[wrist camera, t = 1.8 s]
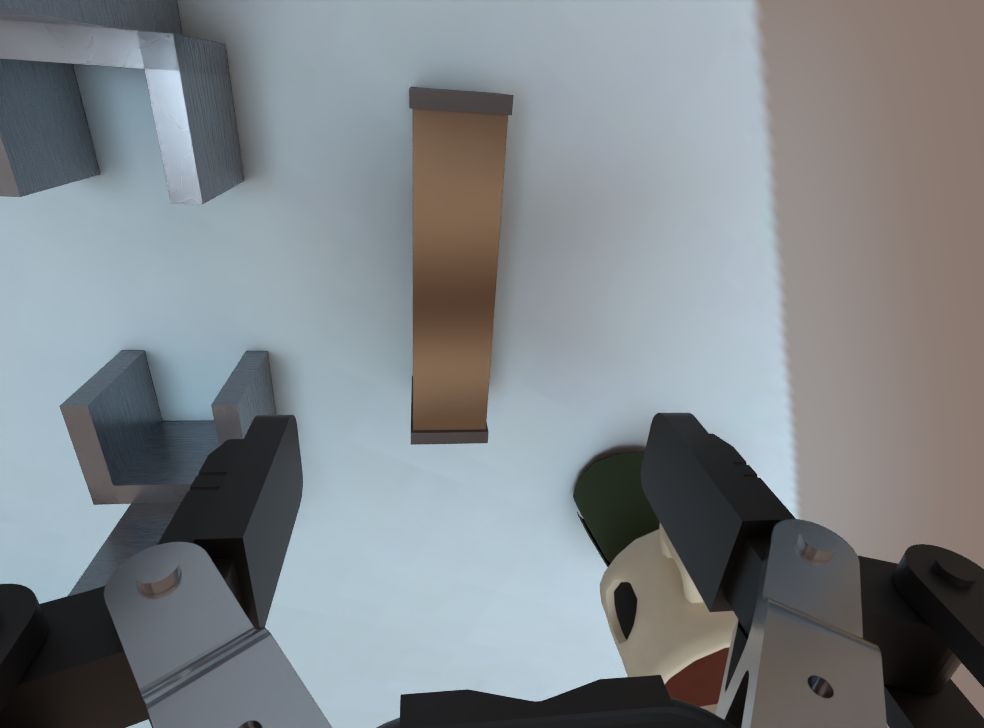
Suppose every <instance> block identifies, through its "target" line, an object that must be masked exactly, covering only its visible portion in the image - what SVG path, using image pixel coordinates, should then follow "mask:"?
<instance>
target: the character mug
mask: <svg viewBox="0 0 984 728" xmlns="http://www.w3.org/2000/svg"><path fill="white" fill-rule="evenodd" d="M644 453H645V452H633V453H623V454H617V455H614V456H611V457H608V458H605V459H602V460H599V461H596V462H595V463H594V464H593V465H592V466H591V467H590V468H589V469H588V470H587V471H586V472H585V473H584V474H583V475H582V476H581V477H580V478H579V481H578V483H577V486H576V489H575V492H574V494H573V497H574V500H575V502H576V504H577V506H578V508H579V510H580V512H581V514H582V516H583V518H584V519H583V518H581V517H580V516H579V514H578V516H579V518H580V520H581V522H582V524H583V526H584V528H585V530H586V532H587V533H588V535H589V537H590V539H591V540H592V542H593V544H594V545H595V547H596V549H597V550H598V552H599V554H600V555H601V557H602V559H603V560H604V562H605V563H606V565H607V567H608V568H607V570H606V571H605V572H604V575H603V578H602V580H601V583H600V595H601V602H602V605H603V608H604V611H605V613H606V617H607V620H608V623H609V627H610V630H611V633H612V636H613V638H614V641H615V644H616V646H617V649H618V651H619V654H620V656H621V658H622V661H623V664H624V667H625V670H626V673H627V675H628V677H638V676H651V675H661V677H662V679H663V682H664V684H665V686H666V689H667V691H668V694H669V696H670V697H671V698H676V699H679V700H682V701H685V702H689V703H692V704H694V705H696V706H699V707H701V708H703V709H706V710H708V711H710V712H711V713H713V714H715V713H716V710H717V706H718V701H719V696H720V692H721V687H722V682H723V677H724V672H725V668H726V663H727V658H728V653H729V648H730V643H731V639H732V634H733V630H734V627H735V625H736V622H737V620H738V618H737V617H736V615H735V613H734V612H733V611H722V612H709V610H708V608H707V606H706V605H705V603H704V601H703V599H702V597H701V596H700V594H699V592H698V590H697V588H696V586H695V585H694V583H693V581H692V579H691V577H690V576H689V574H688V572H687V570H686V568H685V567H684V565H683V563H682V561H681V559H680V557H679V556H678V554H677V552H676V550H675V548H674V547H673V545H672V543H671V541H670V539H669V538H668V536H667V534H666V532H665V530H664V529H663V527H662V525H661V523H660V521H659V519H658V518H657V516H656V514H655V512H654V510H653V509H652V507H651V505H650V503H649V501H648V500H647V498H646V496H645V494H644V491H643V488H642V484H641V466H642V462H643V458H644ZM577 513H578V512H577Z"/></svg>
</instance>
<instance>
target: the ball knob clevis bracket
mask: <svg viewBox="0 0 984 728" xmlns="http://www.w3.org/2000/svg"><path fill="white" fill-rule="evenodd" d="M72 64H85V65H99V66H113V67H127V68H141V69H144V70H145V75H146V80H147V85H148V90H149V95H150V100H151V105H152V110H153V115H154V120H155V125H156V130H157V135H158V140H159V145H160V150H161V155H162V160H163V165H164V170H165V175H166V180H167V185H168V190H169V195H170V200H171V203H183V204H204V203H206V202H207V201H209V200H211V199H213V198H215V197H216V196H218V195H220V194H222V193H224V192H225V191H227V190H229V189H231V188H233V187H234V186H236V185H238V184H240V183H242V182H243V181H244V176H243V169H242V162H241V154H240V147H239V140H238V132H237V125H236V118H235V111H234V103H233V96H232V89H231V81H230V74H229V67H228V59H227V52H226V45H225V44H222V43H217V42H212V41H207V40H202V39H198V38H193V37H188V36H183V35H182V30H181V24H180V18H179V12H178V6H177V0H0V196H10V197H22V196H25V195H29V194H32V193H36V192H39V191H43V190H47V189H50V188H54V187H57V186H61V185H64V184H68V183H71V182H75V181H78V180H82V179H85V178H89V177H93V176H96V175H100V173H99V169H98V165H97V161H96V157H95V153H94V149H93V145H92V141H91V137H90V133H89V129H88V125H87V121H86V117H85V113H84V109H83V105H82V101H81V97H80V93H79V89H78V85H77V82H76V78H75V74H74V70H73V66H72ZM211 406H212V411H213V416H214V421H162V419H161V415H160V411H159V407H158V403H157V399H156V395H155V391H154V387H153V383H152V379H151V375H150V371H149V368H148V364H147V360H146V356H145V352H144V351H120V352H119V353H118V354H117V355H116V356H115V357H114V358H113V359H112V360H110V361H109V362H108V363H107V364H106V365H105V366H104V367H103V368H101V369H100V370H99V371H98V372H97V373H96V374H95V375H94V376H93V377H91V378H90V379H89V380H88V381H87V382H86V383H85V384H84V385H83V386H81V387H80V388H79V389H78V390H77V391H76V392H75V393H74V394H72V395H71V396H70V397H69V398H68V399H67V400H66V401H65V402H64V403H62V404H61V405H60V409H61V412H62V415H63V417H64V420H65V423H66V426H67V429H68V432H69V435H70V438H71V440H72V443H73V446H74V449H75V452H76V455H77V458H78V460H79V463H80V466H81V469H82V472H83V475H84V478H85V481H86V483H87V486H88V489H89V492H90V495H91V498H92V501H93V504H94V505H98V504H131V505H130V506H129V508H128V509H127V511H126V512H125V513H124V515H123V516H122V518H121V519H120V521H119V522H118V524H117V525H116V527H115V528H114V530H113V531H112V532H111V534H110V535H109V537H108V538H107V540H106V541H105V543H104V544H103V546H102V547H101V548H100V550H99V551H98V553H97V554H96V556H95V557H94V559H93V560H92V562H91V563H90V565H89V566H88V567H87V569H86V570H85V572H84V573H83V575H82V576H81V578H80V579H79V581H78V582H77V584H76V585H75V586H74V588H73V589H72V591H71V592H70V594H69V595H68V596H71V595H75V594H79V593H82V592H86V591H90V590H93V589H96V588H99V587H102V586H105V585H106V583H107V581H108V580H109V578H110V576H111V575H112V574H113V573H114V571H115V570H116V569H117V568H118V567H119V566H120V565H121V564H123V563H124V562H125V561H126V560H128V559H129V558H131V557H132V556H134V555H136V554H137V553H139V552H141V551H143V550H145V549H148V548H151V547H153V546H157V544H158V542H159V540H160V539H161V537H162V535H163V533H164V532H165V530H166V528H167V526H168V525H169V523H170V521H171V519H172V518H173V516H174V514H175V512H176V511H177V509H178V507H179V505H180V504H181V502H182V500H183V498H184V497H185V495H186V493H187V492H188V491H190V486H191V485H192V483H193V481H194V479H195V478H196V476H198V475H199V473H198V472H199V471H200V469H201V467H202V465H203V464H204V462H205V460H206V458H207V457H208V455H209V454H210V453H211V452H213V451H214V450H215V449H216V448H218V447H219V446H220V445H222V444H223V443H224V442H225V441H227V440H228V439H244V437H245V435H246V433H247V431H248V429H249V427H250V425H251V423H252V421H253V419H254V417H255V416H257V415H276V409H275V402H274V395H273V388H272V380H271V373H270V366H269V358H268V351H246V352H245V354H244V355H243V357H242V358H241V360H240V361H239V363H238V364H237V366H236V368H235V369H234V371H233V372H232V374H231V375H230V377H229V378H228V380H227V382H226V383H225V385H224V386H223V388H222V389H221V391H220V392H219V394H218V395H217V397H216V399H215V400H214V402H213V403H212V405H211Z"/></svg>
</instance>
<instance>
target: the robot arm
mask: <svg viewBox="0 0 984 728" xmlns="http://www.w3.org/2000/svg"><path fill="white" fill-rule="evenodd" d="M198 473H199V475H198V476H196V478H195V479H194V481H193V483H192V485H191V486H190V491H188V492H187V493H186V495H185V497H184V498H183V500H182V502H181V504H180V505H179V507H178V509H177V511H176V512H175V514H174V516H173V518H172V519H171V521H170V523H169V525H168V526H167V528H166V530H165V532H164V533H163V535H162V537H161V539H160V540H159V542H158V544H157V546H153V547H151V548H148V549H145V550H143V551H141V552H139V553H137V554H136V555H134V556H132V557H131V558H129V559H128V560H126V561H125V562H124V563H123V564H121V565H120V566H119V567H118V568H117V569H116V570H115V571H114V573H113V574H112V575H111V576H110V578H109V580H108V581H107V583H106V585H105V586H102V587H99V588H96V589H93V590H90V591H86V592H82V593H79V594H75V595H71V596H68V597H64V598H60V599H57V600H53V601H49V602H46V603H42V604H39V603H38V600H37V598H36V596H35V594H34V593H33V591H32V590H30V589H29V588H27V587H25V586H22V585H18V584H0V728H126V727H128V726H131V725H134V724H137V723H139V722H142V721H145V720H147V719H149V721H150V724H151V726H152V728H332V726H331V725H330V723H329V722H328V720H327V719H326V717H325V716H324V714H323V713H322V711H321V709H320V708H319V706H318V705H317V703H316V702H315V700H314V699H313V697H312V696H311V694H310V693H309V691H308V690H307V688H306V686H305V685H304V683H303V682H302V680H301V679H300V677H299V676H298V674H297V673H296V671H295V670H294V668H293V667H292V665H291V663H290V662H289V660H288V659H287V657H286V656H285V654H284V653H283V651H282V650H281V648H280V647H279V645H278V643H277V642H276V640H275V639H274V637H273V636H272V635H271V633H270V632H269V631H268V630H267V629H266V628H265V625H266V621H267V618H268V614H269V611H270V607H271V604H272V600H273V597H274V593H275V590H276V586H277V583H278V579H279V576H280V572H281V569H282V565H283V562H284V558H285V555H286V551H287V548H288V544H289V541H290V537H291V534H292V530H293V527H294V524H295V520H296V517H297V513H298V510H299V506H300V502H301V497H302V487H303V475H302V465H301V456H300V448H299V439H298V430H297V423H296V419H295V416H294V415H257V416H255V417H254V419H253V421H252V423H251V425H250V427H249V429H248V431H247V433H246V435H245V437H244V439H228V440H227V441H225V442H224V443H223V444H222V445H220V446H219V447H218V448H216V449H215V450H214V451H213V452H211V453H210V454H209V455H208V457H207V458H206V460H205V462H204V464H203V465H202V467H201V469H200V471H199V472H198ZM641 484H642V488H643V491H644V494H645V496H646V498H647V500H648V501H649V503H650V505H651V507H652V509H653V510H654V512H655V514H656V516H657V518H658V519H659V521H660V523H661V525H662V527H663V529H664V530H665V532H666V534H667V536H668V538H669V539H670V541H671V543H672V545H673V547H674V548H675V550H676V552H677V554H678V556H679V557H680V559H681V561H682V563H683V565H684V567H685V568H686V570H687V572H688V574H689V576H690V577H691V579H692V581H693V583H694V585H695V586H696V588H697V590H698V592H699V594H700V596H701V597H702V599H703V601H704V603H705V605H706V606H707V608H708V610H709V612H722V611H733V612H734V613H735V615H736V617H737V618H738V620H737V622H736V625H735V627H734V630H733V634H732V639H731V643H730V648H729V653H728V658H727V663H726V668H725V672H724V677H723V682H722V687H721V692H720V696H719V701H718V706H717V710H716V713H715V714H713V713H711V712H710V711H708V710H706V709H703V708H701V707H699V706H696V705H694V704H692V703H689V702H685V701H682V700H679V699H676V698H671V697H670V696H669V694H668V691H667V689H666V686H665V684H664V682H663V679H662V677H661V675H651V676H638V677H625V678H612V679H600V680H597V681H594V682H592V683H589V684H586V685H584V686H581V687H578V688H576V689H573V690H571V691H568V692H565V693H563V694H560V695H557V696H555V697H552V698H549V699H547V700H544V701H538V702H534V701H527V700H522V699H516V698H511V697H506V696H500V695H495V694H489V693H484V692H478V691H473V690H455V691H442V692H429V693H416V694H403V695H401V701H400V718H397V719H395V720H392V721H390V722H387V723H385V724H383V725H381V726H379V727H377V728H887V724H888V726H889V727H890V728H984V718H983V717H982V716H981V715H980V714H979V712H978V711H977V710H976V709H975V708H974V706H973V705H972V704H971V703H970V702H969V700H968V699H967V698H966V697H965V696H964V695H963V693H962V692H961V691H960V690H959V688H958V687H957V686H956V685H955V684H954V683H953V681H952V680H951V679H950V678H951V677H952V675H953V674H954V672H955V671H956V670H957V668H958V667H959V665H960V664H961V663H963V665H965V667H966V668H967V669H968V670H969V671H970V672H971V674H972V675H973V676H974V677H975V678H976V679H977V680H978V682H979V683H980V684H981V685H982V686H983V687H984V569H982V568H981V567H980V566H978V565H977V564H975V563H974V562H972V561H971V560H969V559H967V558H965V557H963V556H961V555H959V554H957V553H955V552H953V551H950V550H947V549H944V548H941V547H937V546H933V545H925V544H920V545H913V546H911V547H909V548H908V549H907V550H906V551H905V553H904V555H903V557H902V559H901V561H900V562H899V564H896V563H891V562H886V561H881V560H877V559H871V558H866V557H862V556H857V554H856V552H855V551H854V549H853V548H852V547H851V546H850V545H849V544H848V543H847V542H846V541H845V540H844V539H843V538H841V537H840V536H839V535H837V534H836V533H834V532H833V531H831V530H829V529H827V528H825V527H823V526H821V525H818V524H816V523H813V522H809V521H805V520H799V519H795V517H794V516H793V515H792V514H791V513H790V512H789V510H788V509H787V508H786V507H785V506H784V505H783V504H782V502H781V501H780V500H779V499H778V498H777V497H776V496H775V494H774V493H773V492H772V491H771V490H770V489H769V488H768V486H767V485H766V484H765V483H764V482H763V481H762V479H761V478H757V474H756V473H755V471H754V470H753V469H752V468H751V467H750V466H749V465H746V461H745V460H744V459H743V458H742V457H741V455H740V454H739V453H738V452H737V451H736V450H735V448H734V447H733V446H731V445H729V444H728V443H726V442H725V441H723V440H722V439H720V438H719V437H717V436H716V435H714V434H709V433H708V432H707V431H706V430H705V429H704V427H703V426H702V425H701V424H700V423H699V421H698V420H697V419H696V418H695V417H694V416H693V415H692V414H691V413H657V414H656V415H655V416H654V418H653V420H652V424H651V428H650V432H649V436H648V441H647V445H646V449H645V453H644V458H643V462H642V466H641Z"/></svg>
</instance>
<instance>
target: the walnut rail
mask: <svg viewBox="0 0 984 728" xmlns="http://www.w3.org/2000/svg"><path fill="white" fill-rule="evenodd" d="M409 95H410V108H413V376H412V402H411V444H462V443H488V428H487V423H486V417H487V403H488V389H489V375H490V361H491V347H492V333H493V318H494V304H495V290H496V276H497V262H498V248H499V234H500V220H501V206H502V192H503V178H504V164H505V150H506V135H507V121H508V115H512V105H513V95H507V94H498V93H487V92H473V91H459V90H445V89H431V88H418V87H410V88H409Z"/></svg>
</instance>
